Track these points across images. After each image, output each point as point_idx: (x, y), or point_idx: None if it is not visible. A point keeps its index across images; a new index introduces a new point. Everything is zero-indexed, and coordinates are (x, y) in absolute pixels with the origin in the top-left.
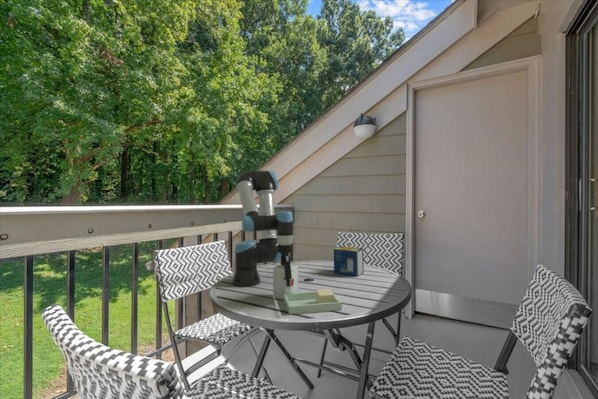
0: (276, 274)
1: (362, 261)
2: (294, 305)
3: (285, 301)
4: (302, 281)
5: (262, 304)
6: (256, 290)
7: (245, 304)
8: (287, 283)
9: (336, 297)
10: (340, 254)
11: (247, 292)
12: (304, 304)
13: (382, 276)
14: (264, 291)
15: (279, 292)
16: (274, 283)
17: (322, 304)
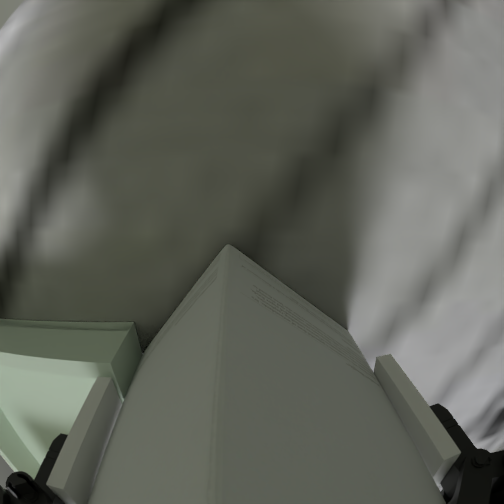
0: (146, 494)
1: None
2: (44, 375)
3: (27, 341)
4: (498, 404)
5: (103, 145)
6: (478, 115)
7: (135, 9)
8: (48, 461)
9: None
10: None
11: (442, 39)
12: (70, 421)
13: None
14: (451, 174)
15: (168, 333)
16: (199, 337)
17: (7, 462)
